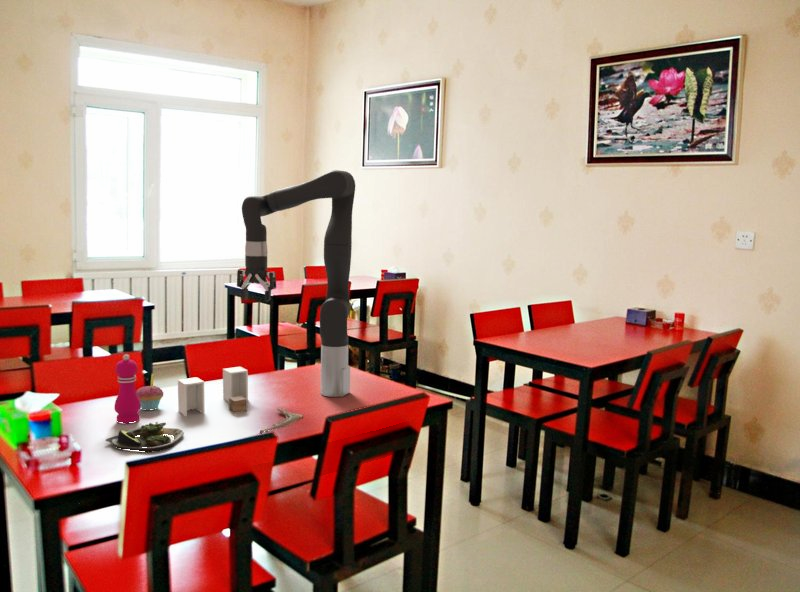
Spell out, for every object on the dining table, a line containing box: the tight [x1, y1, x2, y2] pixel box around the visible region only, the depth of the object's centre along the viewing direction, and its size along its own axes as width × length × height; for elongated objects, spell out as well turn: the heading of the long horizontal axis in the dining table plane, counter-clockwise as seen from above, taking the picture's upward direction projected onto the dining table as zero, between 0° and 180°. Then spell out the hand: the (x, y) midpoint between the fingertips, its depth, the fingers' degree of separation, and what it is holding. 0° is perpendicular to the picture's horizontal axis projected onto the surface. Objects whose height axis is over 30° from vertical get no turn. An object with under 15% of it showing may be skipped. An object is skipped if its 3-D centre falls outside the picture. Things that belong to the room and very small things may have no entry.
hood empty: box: [177, 376, 205, 417], centre depth 212 cm, size 6×6×10 cm
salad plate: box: [105, 421, 185, 453], centre depth 189 cm, size 19×18×5 cm
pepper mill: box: [114, 354, 141, 423], centre depth 202 cm, size 7×7×20 cm
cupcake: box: [135, 373, 164, 410], centre depth 215 cm, size 9×8×12 cm
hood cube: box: [222, 366, 249, 403], centre depth 227 cm, size 6×6×10 cm
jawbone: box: [259, 407, 304, 434], centre depth 205 cm, size 9×20×2 cm, turn 176°
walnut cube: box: [228, 396, 247, 414], centre depth 216 cm, size 4×4×4 cm
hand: (256, 300), depth 242 cm, fingers open, 8 cm apart
